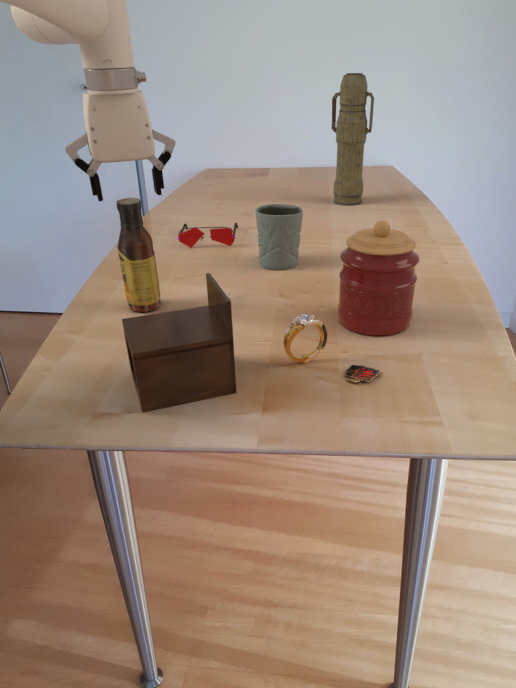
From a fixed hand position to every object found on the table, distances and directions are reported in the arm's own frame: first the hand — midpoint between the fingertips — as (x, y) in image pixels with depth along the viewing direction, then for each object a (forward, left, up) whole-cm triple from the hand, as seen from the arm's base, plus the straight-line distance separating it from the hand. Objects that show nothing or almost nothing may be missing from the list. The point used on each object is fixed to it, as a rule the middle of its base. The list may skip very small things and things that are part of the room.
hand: (129, 196), depth 92 cm
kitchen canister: (+37, -21, -21) cm, 47 cm away
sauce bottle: (0, 0, -21) cm, 21 cm away
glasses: (+22, +37, -21) cm, 47 cm away
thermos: (+71, +57, -21) cm, 93 cm away
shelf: (+1, -29, -20) cm, 36 cm away
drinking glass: (+32, +13, -21) cm, 40 cm away
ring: (+20, -30, -21) cm, 41 cm away
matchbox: (+26, -37, -20) cm, 50 cm away
